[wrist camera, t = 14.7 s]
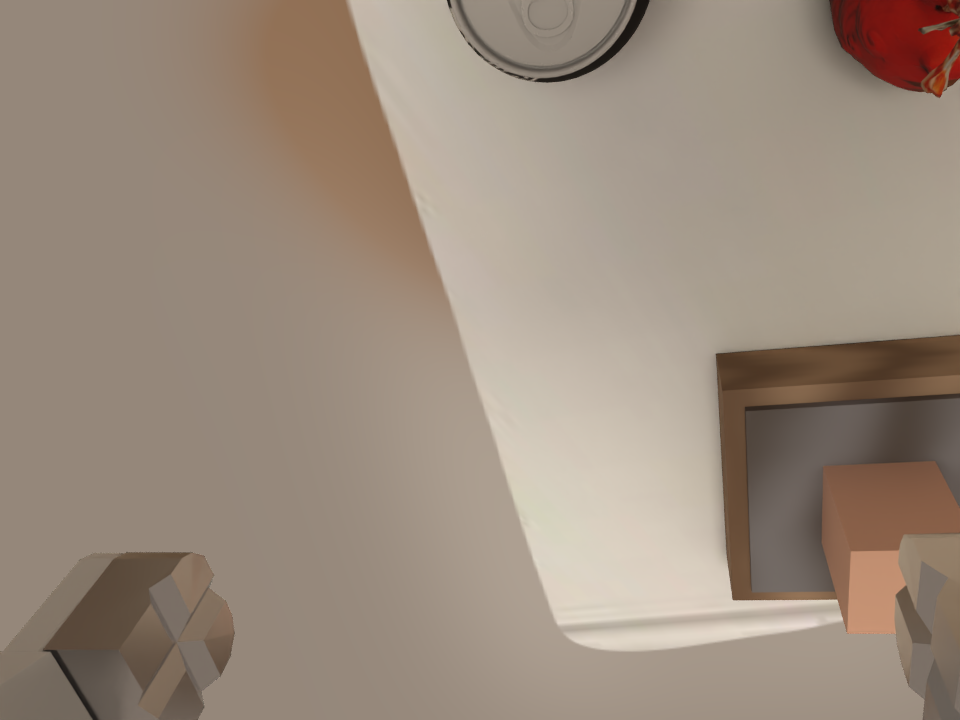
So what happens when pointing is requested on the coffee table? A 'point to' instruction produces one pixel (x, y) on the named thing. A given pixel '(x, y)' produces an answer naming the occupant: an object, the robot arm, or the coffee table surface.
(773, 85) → the coffee table surface
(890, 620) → the terracotta block
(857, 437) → the walnut plinth
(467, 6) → the beverage can
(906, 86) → the red clay folk toy
